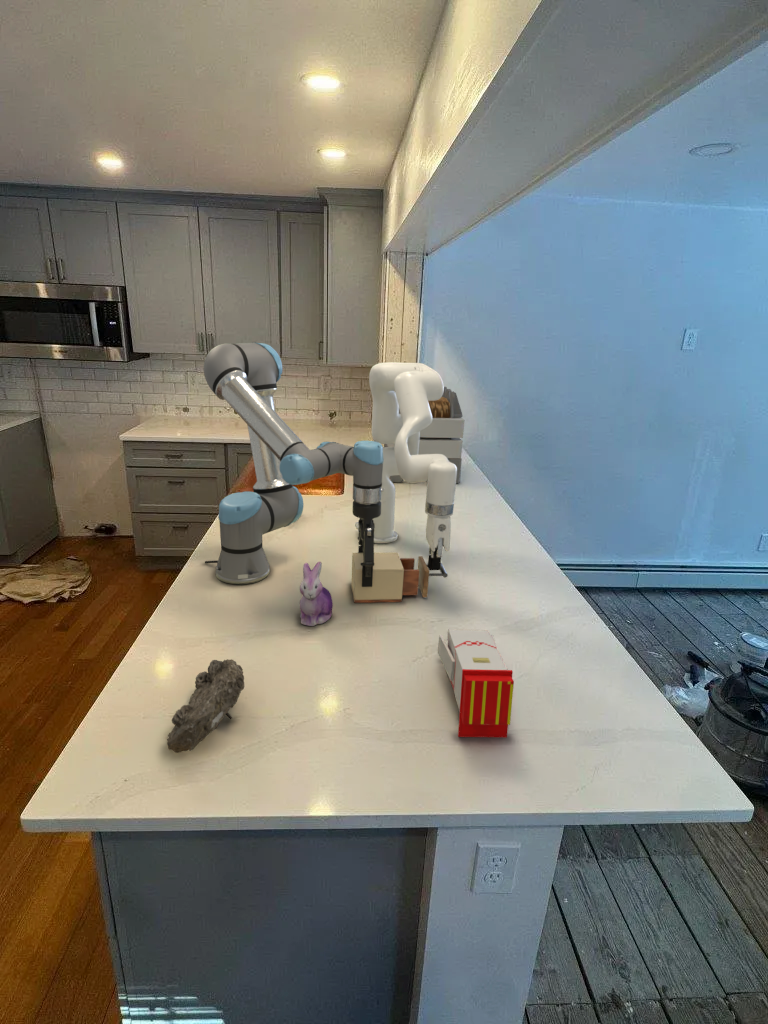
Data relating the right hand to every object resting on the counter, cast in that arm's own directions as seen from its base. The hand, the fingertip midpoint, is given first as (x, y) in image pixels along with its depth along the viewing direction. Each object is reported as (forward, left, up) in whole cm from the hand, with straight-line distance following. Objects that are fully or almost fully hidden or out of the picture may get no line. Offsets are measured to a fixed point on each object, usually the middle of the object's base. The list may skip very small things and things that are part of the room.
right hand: (433, 568), depth 158 cm
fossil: (-29, -66, -7) cm, 72 cm away
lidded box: (-14, -7, -7) cm, 18 cm away
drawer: (-5, -3, -6) cm, 8 cm away
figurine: (-25, -25, -7) cm, 36 cm away
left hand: (-17, -8, -2) cm, 19 cm away
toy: (+17, -41, -7) cm, 45 cm away
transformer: (-32, +118, -7) cm, 122 cm away
